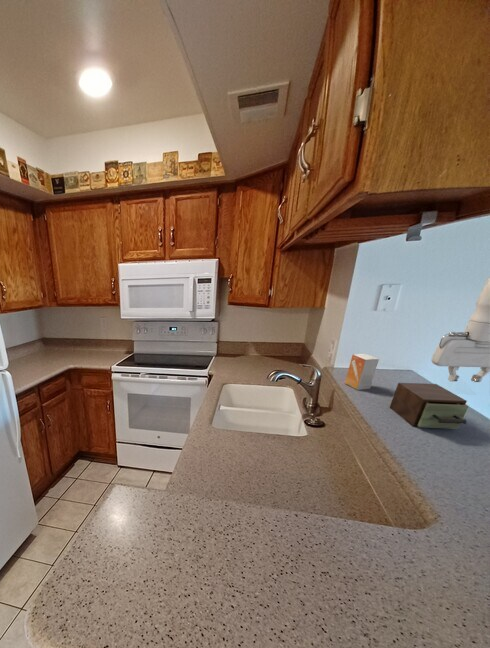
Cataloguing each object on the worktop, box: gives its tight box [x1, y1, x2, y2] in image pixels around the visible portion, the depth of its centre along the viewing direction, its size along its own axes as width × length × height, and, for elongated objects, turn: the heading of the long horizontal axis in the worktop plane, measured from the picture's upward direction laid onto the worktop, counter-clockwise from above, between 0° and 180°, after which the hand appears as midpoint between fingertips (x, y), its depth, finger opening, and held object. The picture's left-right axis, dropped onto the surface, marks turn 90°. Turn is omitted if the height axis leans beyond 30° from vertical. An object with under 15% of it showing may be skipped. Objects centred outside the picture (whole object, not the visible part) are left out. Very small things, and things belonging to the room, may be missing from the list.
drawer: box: [417, 402, 469, 430], centre depth 107 cm, size 19×11×8 cm, turn 174°
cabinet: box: [389, 382, 468, 428], centre depth 111 cm, size 16×13×10 cm
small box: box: [344, 353, 380, 391], centre depth 137 cm, size 8×6×13 cm
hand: (463, 381), depth 95 cm, fingers open, 5 cm apart
